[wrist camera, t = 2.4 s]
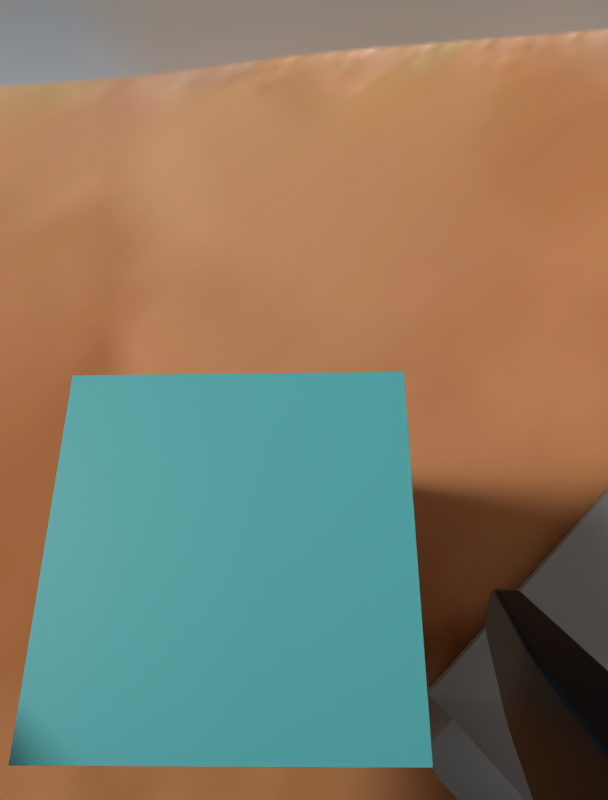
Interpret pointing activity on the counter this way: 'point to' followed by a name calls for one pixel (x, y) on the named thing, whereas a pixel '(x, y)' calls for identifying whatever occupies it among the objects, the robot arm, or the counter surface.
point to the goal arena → (476, 680)
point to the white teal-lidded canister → (229, 578)
